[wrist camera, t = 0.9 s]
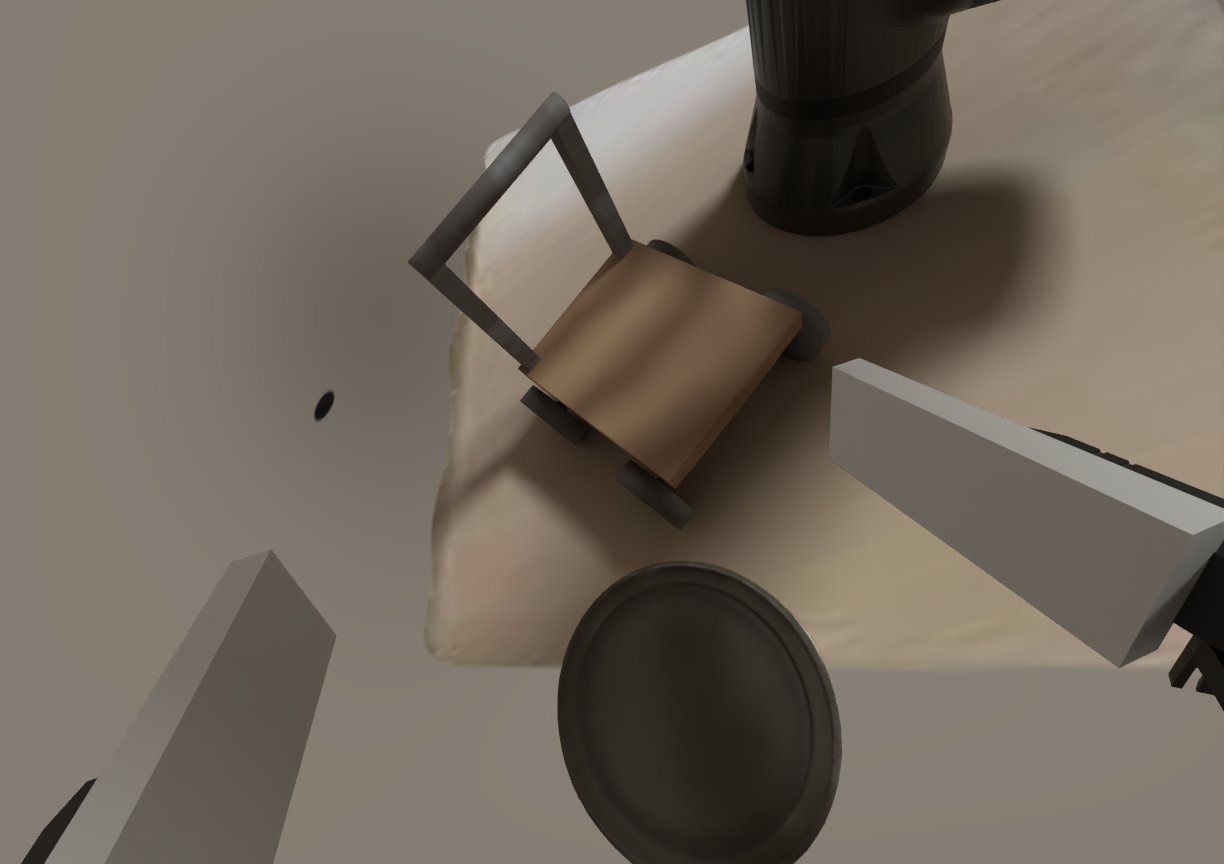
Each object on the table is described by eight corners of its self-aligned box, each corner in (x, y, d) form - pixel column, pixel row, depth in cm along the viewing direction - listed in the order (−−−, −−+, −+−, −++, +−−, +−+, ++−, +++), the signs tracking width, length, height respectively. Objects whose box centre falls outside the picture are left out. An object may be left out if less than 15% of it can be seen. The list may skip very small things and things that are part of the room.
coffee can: (847, 785, 25) (874, 927, 13) (661, 767, 29) (549, 867, 17) (813, 584, 29) (811, 552, 17) (654, 590, 33) (560, 567, 21)
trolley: (543, 418, 42) (371, 285, 26) (659, 275, 43) (563, 60, 27) (688, 536, 33) (567, 447, 17) (829, 354, 34) (840, 106, 18)
